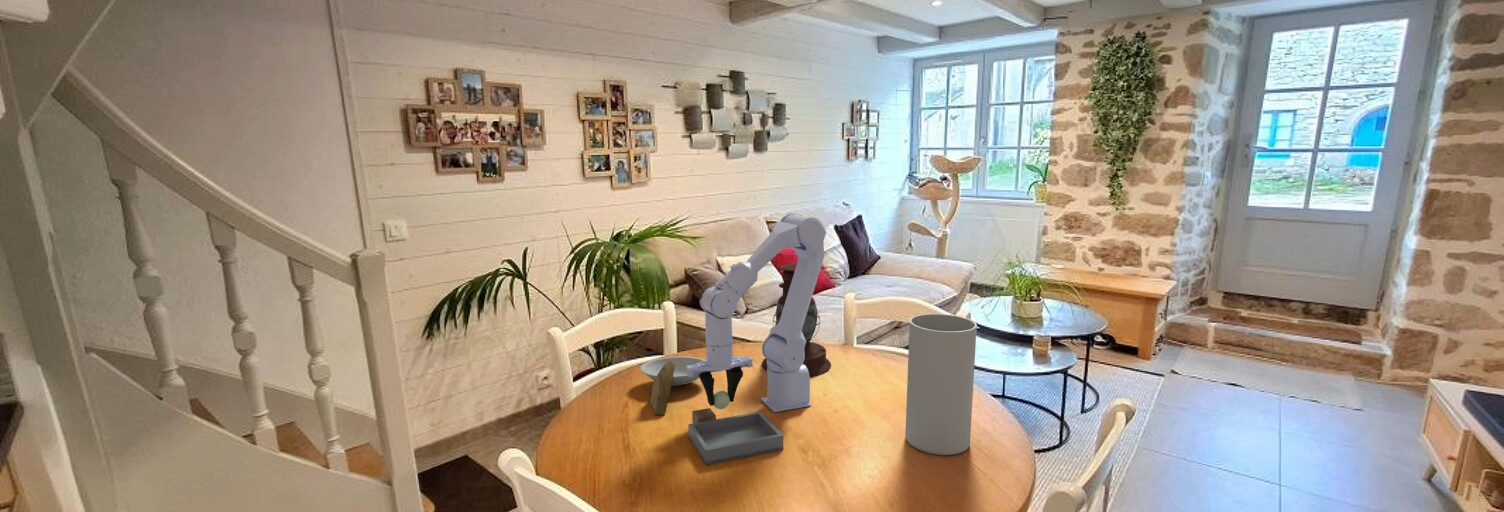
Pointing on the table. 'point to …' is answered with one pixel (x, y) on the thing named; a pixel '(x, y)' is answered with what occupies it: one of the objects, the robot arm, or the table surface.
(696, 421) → the walnut cube
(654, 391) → the rock
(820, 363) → the lantern
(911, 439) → the cylinder vase
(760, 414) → the serving tray
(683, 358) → the dish
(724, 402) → the green ball
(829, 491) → the table surface
